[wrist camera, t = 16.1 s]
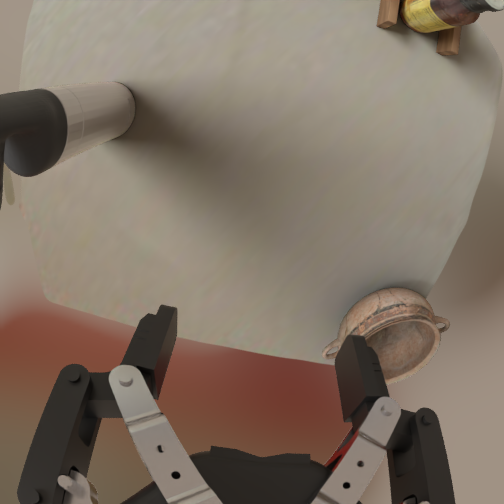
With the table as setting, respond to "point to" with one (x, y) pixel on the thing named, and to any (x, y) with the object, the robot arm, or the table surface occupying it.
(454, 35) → the frame
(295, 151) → the table surface
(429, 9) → the sauce bottle
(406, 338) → the cooking pot
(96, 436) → the robot arm
